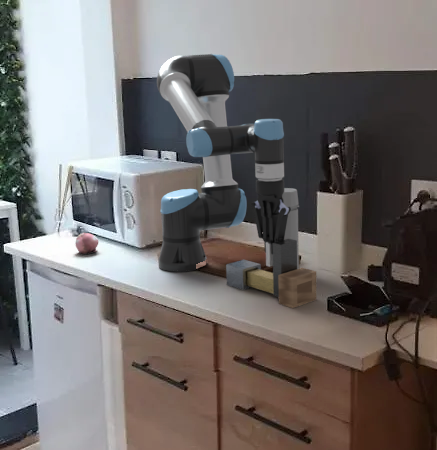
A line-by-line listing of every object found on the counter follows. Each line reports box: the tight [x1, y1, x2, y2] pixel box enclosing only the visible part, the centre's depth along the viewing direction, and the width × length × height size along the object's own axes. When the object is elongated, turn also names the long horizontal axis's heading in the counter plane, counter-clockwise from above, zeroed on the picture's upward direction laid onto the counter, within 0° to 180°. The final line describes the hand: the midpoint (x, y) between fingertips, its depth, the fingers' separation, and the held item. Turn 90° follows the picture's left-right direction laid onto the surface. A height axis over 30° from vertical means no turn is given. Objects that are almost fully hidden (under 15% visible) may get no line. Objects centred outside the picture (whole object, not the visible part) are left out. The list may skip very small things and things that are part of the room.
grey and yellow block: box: [245, 239, 297, 298], centre depth 194 cm, size 21×6×14 cm, turn 40°
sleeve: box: [225, 259, 262, 291], centre depth 204 cm, size 7×7×6 cm
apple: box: [74, 232, 99, 255], centre depth 244 cm, size 8×8×7 cm
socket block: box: [278, 267, 318, 309], centre depth 188 cm, size 5×9×8 cm, turn 130°
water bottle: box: [282, 187, 300, 269], centre depth 212 cm, size 9×8×25 cm
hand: (271, 265), depth 194 cm, fingers closed
